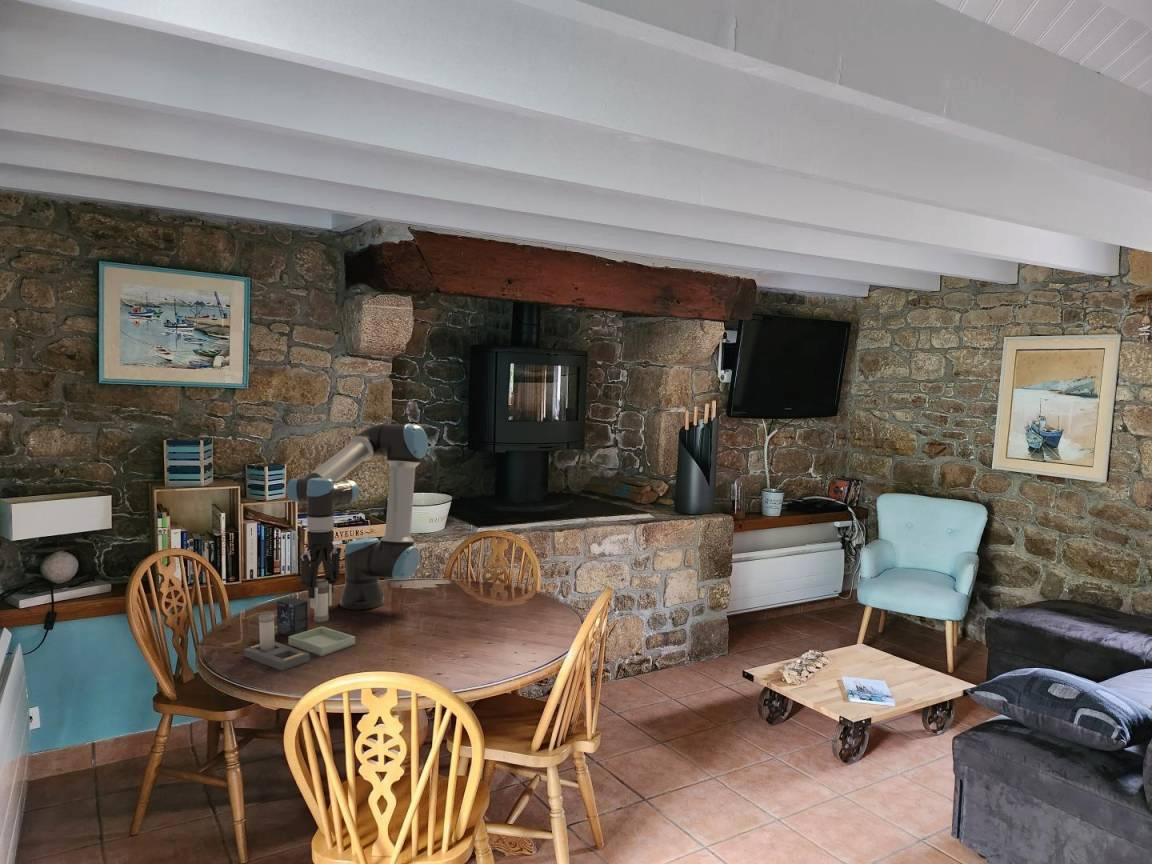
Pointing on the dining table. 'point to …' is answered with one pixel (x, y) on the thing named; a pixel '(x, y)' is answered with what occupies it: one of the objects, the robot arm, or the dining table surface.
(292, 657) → the fuse holder
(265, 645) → the fuse
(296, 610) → the box
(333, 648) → the parts tray
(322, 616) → the cylinder
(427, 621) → the dining table surface
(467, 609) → the dining table surface
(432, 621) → the dining table surface
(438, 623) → the dining table surface
